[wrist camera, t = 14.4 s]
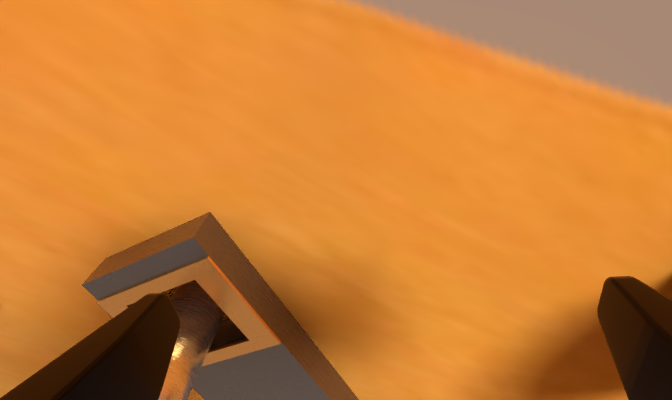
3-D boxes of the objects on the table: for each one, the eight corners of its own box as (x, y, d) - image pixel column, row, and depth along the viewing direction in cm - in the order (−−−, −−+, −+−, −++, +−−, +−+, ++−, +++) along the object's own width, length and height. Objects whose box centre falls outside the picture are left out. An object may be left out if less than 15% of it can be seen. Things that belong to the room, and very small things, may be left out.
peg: (239, 289, 27) (125, 551, 15) (218, 318, 29) (103, 574, 17) (189, 264, 26) (31, 519, 15) (172, 296, 28) (17, 546, 16)
